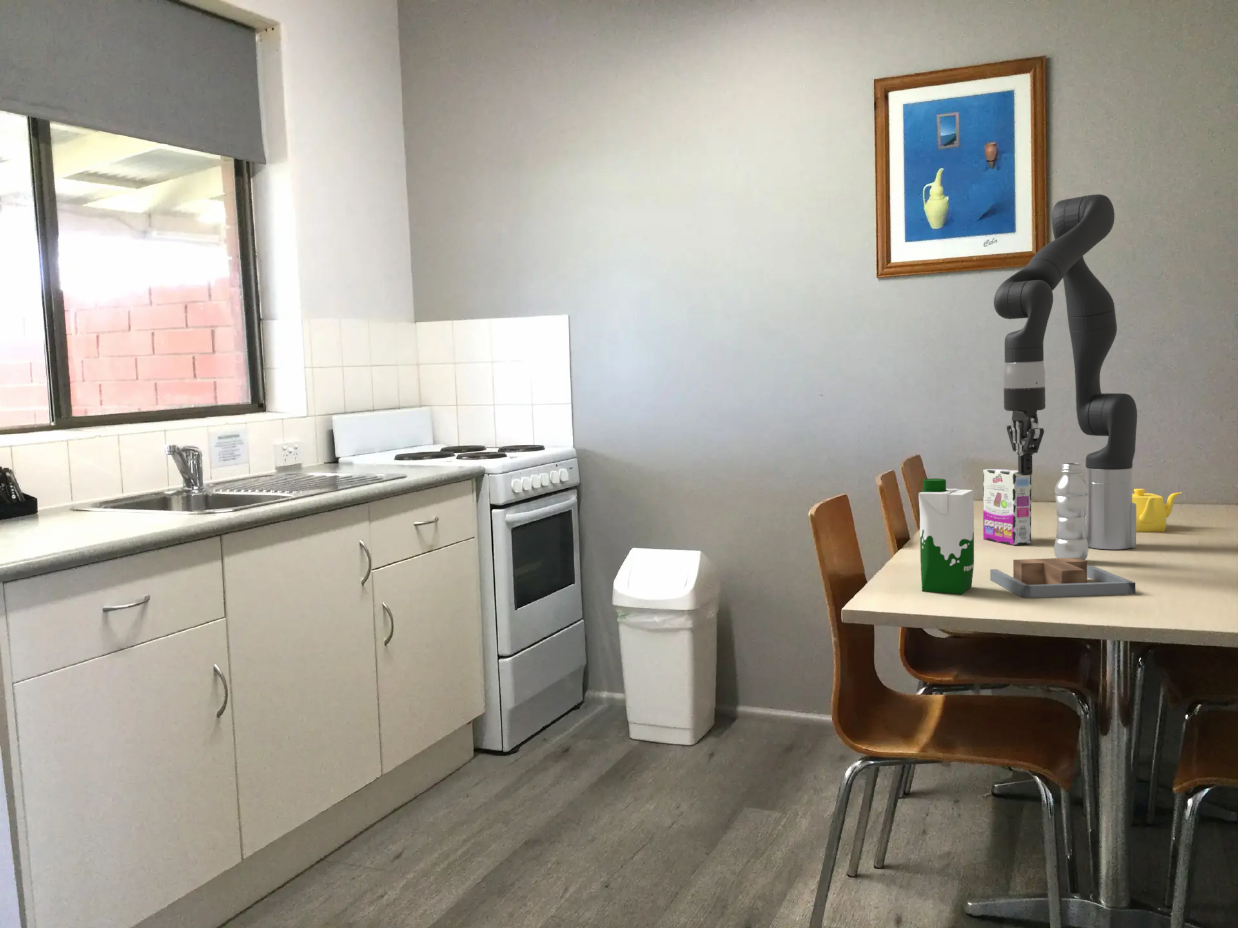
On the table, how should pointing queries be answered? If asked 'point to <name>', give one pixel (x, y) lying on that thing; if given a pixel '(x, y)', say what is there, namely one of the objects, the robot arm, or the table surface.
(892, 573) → the table surface
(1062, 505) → the plastic bottle
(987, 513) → the candy bar box
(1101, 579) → the bay frame
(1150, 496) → the teapot
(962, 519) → the soya milk
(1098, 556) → the table surface
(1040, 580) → the t block
